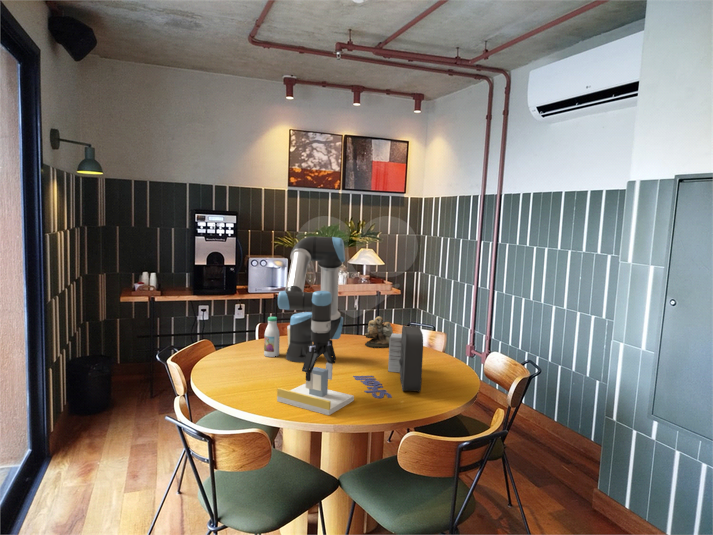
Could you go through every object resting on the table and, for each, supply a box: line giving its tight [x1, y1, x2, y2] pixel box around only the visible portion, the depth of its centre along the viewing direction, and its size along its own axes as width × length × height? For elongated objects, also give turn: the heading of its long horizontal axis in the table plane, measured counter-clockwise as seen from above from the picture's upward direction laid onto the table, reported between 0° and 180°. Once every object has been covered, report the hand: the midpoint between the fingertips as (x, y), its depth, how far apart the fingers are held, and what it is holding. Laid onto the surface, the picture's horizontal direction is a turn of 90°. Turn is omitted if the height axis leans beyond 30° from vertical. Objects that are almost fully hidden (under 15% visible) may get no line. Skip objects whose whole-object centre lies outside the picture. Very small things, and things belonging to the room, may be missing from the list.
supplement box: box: [387, 332, 402, 373], centre depth 234 cm, size 10×9×17 cm
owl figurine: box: [364, 316, 394, 349], centre depth 278 cm, size 18×12×17 cm, turn 107°
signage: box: [352, 375, 392, 399], centre depth 209 cm, size 28×1×10 cm
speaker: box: [399, 325, 424, 393], centre depth 211 cm, size 25×9×25 cm, turn 178°
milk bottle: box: [263, 316, 281, 358], centre depth 250 cm, size 8×8×20 cm
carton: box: [309, 366, 329, 397], centre depth 191 cm, size 6×4×10 cm
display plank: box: [276, 383, 355, 416], centre depth 190 cm, size 24×18×5 cm
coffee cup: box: [286, 324, 290, 348], centre depth 267 cm, size 9×9×12 cm
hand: (319, 383), depth 191 cm, fingers open, 13 cm apart
